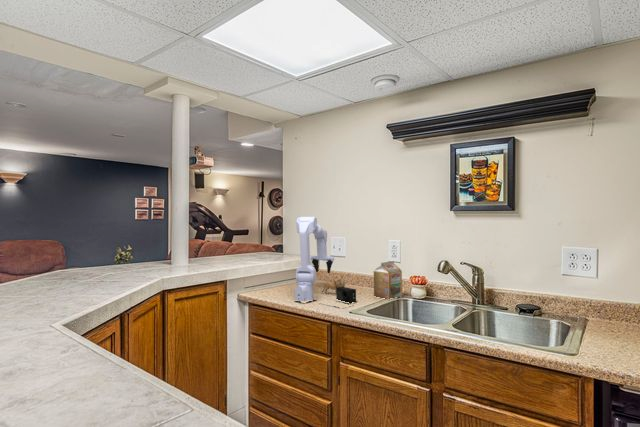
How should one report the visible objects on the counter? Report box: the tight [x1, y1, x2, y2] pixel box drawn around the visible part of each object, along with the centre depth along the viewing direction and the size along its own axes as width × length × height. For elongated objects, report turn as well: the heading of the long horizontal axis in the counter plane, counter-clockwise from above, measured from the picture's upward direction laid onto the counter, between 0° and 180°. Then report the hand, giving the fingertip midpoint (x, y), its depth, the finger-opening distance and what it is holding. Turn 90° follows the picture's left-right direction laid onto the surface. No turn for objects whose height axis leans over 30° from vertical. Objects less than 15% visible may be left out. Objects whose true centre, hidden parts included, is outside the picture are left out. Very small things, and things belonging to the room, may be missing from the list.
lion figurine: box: [321, 278, 346, 294], centre depth 211 cm, size 15×5×9 cm, turn 67°
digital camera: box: [335, 286, 357, 303], centre depth 193 cm, size 10×5×7 cm, turn 40°
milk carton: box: [373, 260, 403, 300], centre depth 203 cm, size 10×11×19 cm
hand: (323, 272), depth 225 cm, fingers open, 7 cm apart
